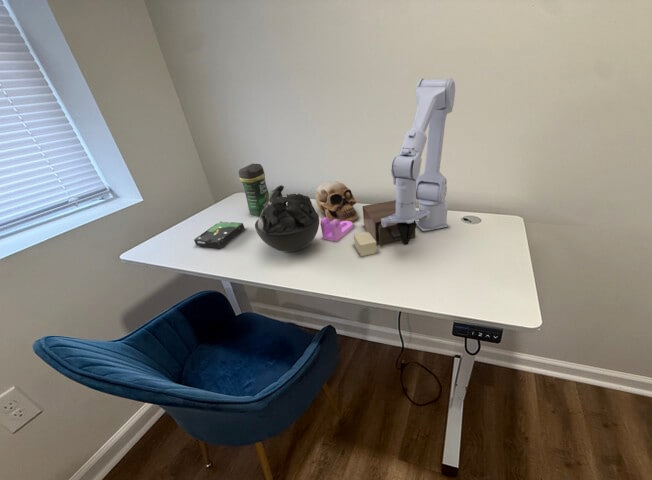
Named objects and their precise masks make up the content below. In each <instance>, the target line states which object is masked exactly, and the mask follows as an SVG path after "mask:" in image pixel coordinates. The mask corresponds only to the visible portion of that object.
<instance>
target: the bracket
mask: <svg viewBox="0 0 652 480" xmlns="http://www.w3.org/2000/svg"><path fill="white" fill-rule="evenodd" d="M353 223H354V222H351V221H341V222H340V221H339V220H336V219H334V220H333V221H332V220H330V219H329V218H327V217H326V216H324V217H322V218H321V220H320V230H321V235H322V239H323V240H327V241H330V242H331V241H332V242H338V241H339V240H340V239H341V238H343V237H344V236H345V235H346V234H348V233H349V232H350V231H351V230H352V229H354V224H353Z"/></svg>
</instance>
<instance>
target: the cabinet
mask: <svg viewBox="0 0 652 480" xmlns="http://www.w3.org/2000/svg"><path fill="white" fill-rule="evenodd" d="M393 214H396V199H395V200H389V201H383V202H378V203H373V204H372V203H371V204H367V205H362V217H363V227H364V229H365V230H366V232H369V233H370V234H371V236H372V237H373V238H374V240H375V241H376V245H380V244H379V239H378V232H377V224H380V223H381V218H386V217H388V216H391V215H393Z"/></svg>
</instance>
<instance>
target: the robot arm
mask: <svg viewBox="0 0 652 480" xmlns="http://www.w3.org/2000/svg"><path fill="white" fill-rule="evenodd" d="M455 97H456V82H455V80H454V78H453V77H450V78H428V79H426V78H420V79H419V80H418V82H417V84H416V85H415V100H416V107H417V108H416V112H415V116H414V120H413V124H412V128H410V129H408V130H407V131H406V133H405V136H404V139H403V142H402V145H401V148H400V151H399V154H398V155H397V156H395V157H393V160H392V163H391V169H390V173H391V176H392V181H393V185H394V186H395V200H396V214H393V215H391V216H388V217H386V218H381V225H382V226H383V227H387V225H393V224H396V226H397V228H398V230H399V232H400V235H401V238H402V241H401V243H402V244H403V246H408V245H409V244H410V241H411V239H410V238H411V235H412V233H413V231H414V229H415V230H416V228H417V227H418V228H419V230H420V231H421V232H429V231H433V230H434V231H435V230H438V229H439V230H440V229H445V228H448V225H447V221H448V208H449V207H448V203H447V201H446V197H447V192H448V187H447V183H448V180H447V178H446V176H444V174H442V172H441V171H440V169H441V160H442V154H443V153H442V152H443V144H444V136H445V127H446V120H447V117H448V115H449V114H450V113H452V112H453V109H454V106H455V105H454V104H455ZM427 130H428V131H427ZM426 131H427V134H426ZM425 146H426V152H425V162H424V172H422V173H421V168H422V162H423V160H422V156H423V152H424V149H425ZM417 203H418V210H417ZM415 221H416V222H415Z"/></svg>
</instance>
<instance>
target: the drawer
mask: <svg viewBox="0 0 652 480" xmlns="http://www.w3.org/2000/svg"><path fill="white" fill-rule="evenodd" d="M416 221H417V220H415V222H416ZM377 232H378V239H379V244H378V245H379V246H385V245H390V244H394V243H400V242H402V238H401V235H400V232H399V230H398V228H397V226H396V224H393V225H387V227H383V226H382V225H381V223H380V224H377ZM410 240H416V228H415V229H414V231H413V233H412V235H411V238H410Z"/></svg>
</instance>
